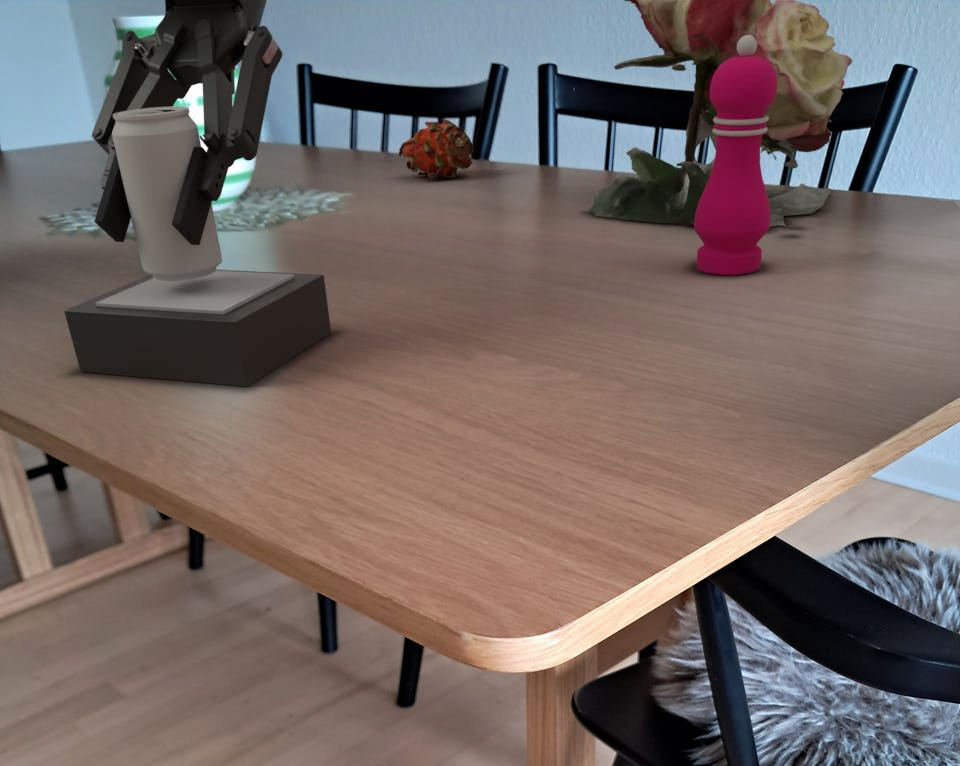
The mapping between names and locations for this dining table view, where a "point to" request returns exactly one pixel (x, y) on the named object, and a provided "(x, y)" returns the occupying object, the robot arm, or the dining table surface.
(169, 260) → the beverage can
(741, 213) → the pepper mill
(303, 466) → the dining table surface
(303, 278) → the cup warmer
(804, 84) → the rose bouquet
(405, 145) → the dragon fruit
